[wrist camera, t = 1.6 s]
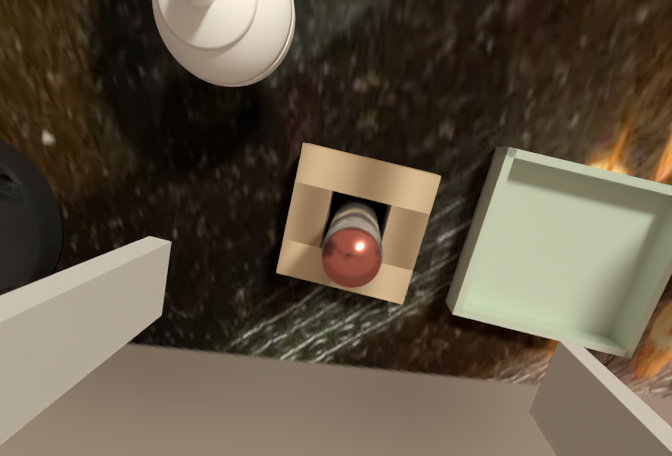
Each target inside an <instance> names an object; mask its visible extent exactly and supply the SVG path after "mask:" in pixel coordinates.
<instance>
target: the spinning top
mask: <svg viewBox="0 0 672 456" xmlns="http://www.w3.org/2000/svg"><path fill="white" fill-rule="evenodd" d="M152 2H153V11H154V17H155V21H156V24H157V27H158V30H159V33H160V35H161V37H162V39H163V41H164V43H165V45H166V46H167V48H168V49H169V51H170V52H171V54H172V55H173V56H174V58H175V59H176V60H177V61H178V62H179V63H180V64H181V65H182V66H183V67H184V68H186V69H187V70H188V71H189V72H191V73H192V74H193V75H195V76H197V77H198V78H200V79H202V80H204V81H206V82H209V83H212V84H215V85H220V86H228V87H240V86H246V85H250V84H253V83H256V82H258V81H260V80H262V79H264V78H265V77H267V76H268V75H269V74H271V73H272V72H273V71H274V70H275V69H276V68H277V67H278V66H279V65H280V63H281V62H282V61H283V59H284V57H285V56H286V54H287V52H288V50H289V48H290V45H291V42H292V38H293V34H294V28H295V8H294V1H293V0H152Z"/></svg>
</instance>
